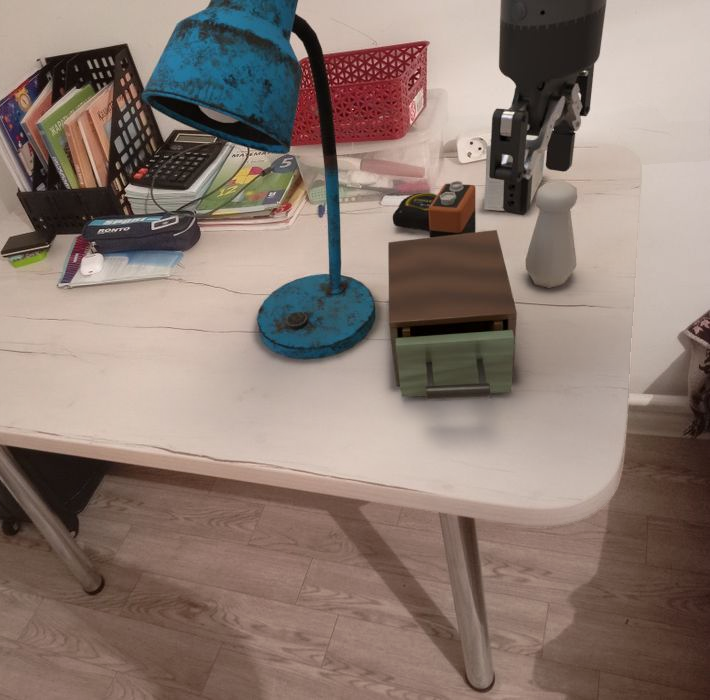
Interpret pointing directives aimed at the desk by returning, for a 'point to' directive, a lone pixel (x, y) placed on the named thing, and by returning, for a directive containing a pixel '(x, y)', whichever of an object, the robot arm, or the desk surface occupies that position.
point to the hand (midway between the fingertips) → (538, 189)
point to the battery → (453, 210)
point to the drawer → (455, 360)
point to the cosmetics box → (496, 186)
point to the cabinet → (448, 283)
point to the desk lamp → (266, 146)
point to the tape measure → (414, 212)
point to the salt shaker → (553, 236)
